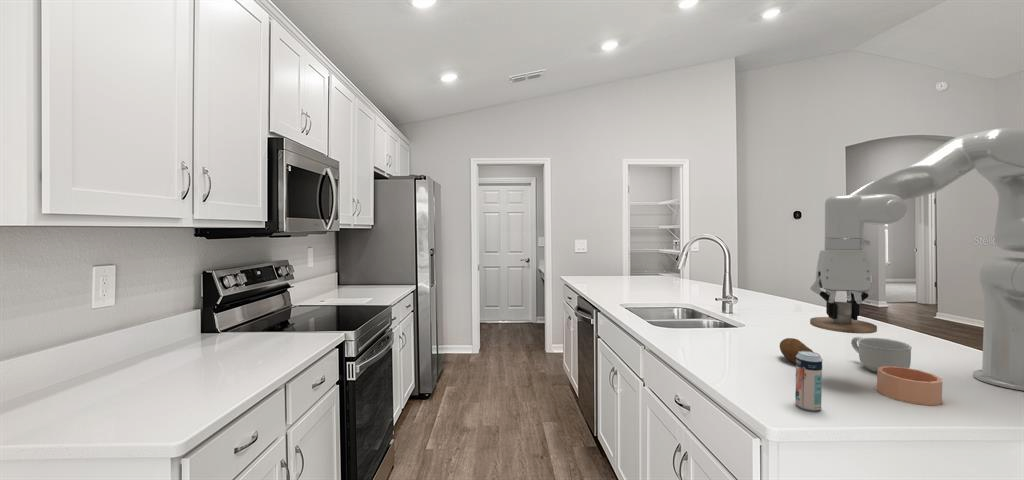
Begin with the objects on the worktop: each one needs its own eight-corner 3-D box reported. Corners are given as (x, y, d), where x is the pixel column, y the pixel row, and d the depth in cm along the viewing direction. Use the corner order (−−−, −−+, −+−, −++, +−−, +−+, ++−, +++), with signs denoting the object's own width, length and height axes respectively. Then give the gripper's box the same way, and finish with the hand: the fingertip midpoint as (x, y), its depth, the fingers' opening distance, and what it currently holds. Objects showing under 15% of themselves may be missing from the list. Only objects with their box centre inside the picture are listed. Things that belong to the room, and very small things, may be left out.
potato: (800, 370, 113) (801, 345, 113) (769, 357, 124) (769, 334, 124) (822, 368, 114) (823, 344, 114) (789, 355, 125) (789, 333, 125)
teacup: (922, 378, 106) (923, 348, 106) (880, 378, 106) (881, 348, 106) (876, 361, 120) (876, 334, 120) (838, 360, 120) (839, 334, 120)
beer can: (796, 400, 93) (796, 349, 93) (822, 406, 90) (823, 353, 90) (793, 408, 90) (794, 354, 89) (821, 414, 87) (822, 358, 86)
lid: (860, 322, 107) (860, 299, 106) (889, 335, 94) (889, 309, 94) (802, 319, 110) (802, 297, 110) (822, 331, 98) (823, 306, 98)
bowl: (921, 388, 100) (922, 368, 99) (954, 407, 89) (955, 385, 89) (868, 384, 103) (868, 364, 103) (893, 401, 92) (894, 380, 92)
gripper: (875, 244, 103) (874, 316, 103) (799, 244, 108) (798, 313, 108) (893, 246, 96) (892, 323, 96) (810, 246, 101) (809, 319, 101)
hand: (842, 317), depth 102 cm, fingers closed on lid, 3 cm apart
